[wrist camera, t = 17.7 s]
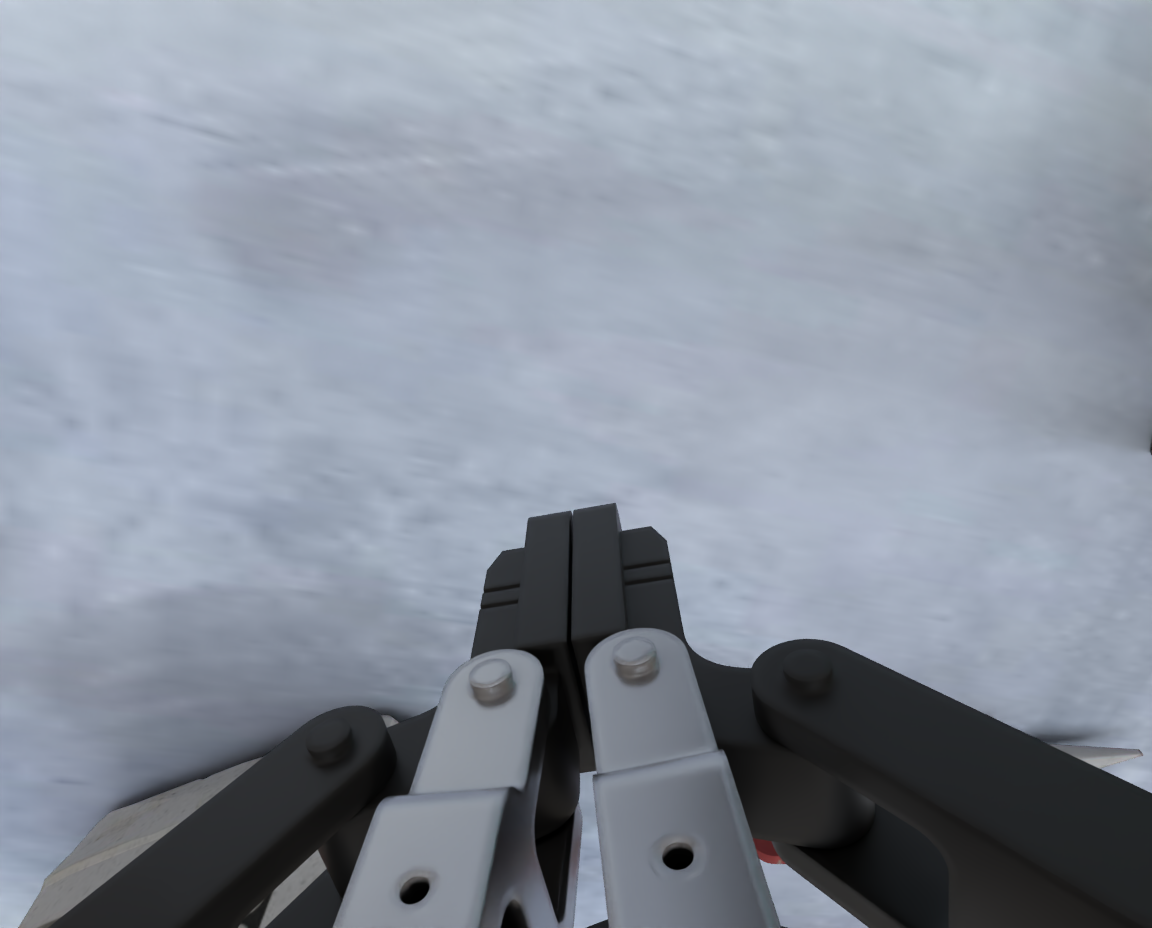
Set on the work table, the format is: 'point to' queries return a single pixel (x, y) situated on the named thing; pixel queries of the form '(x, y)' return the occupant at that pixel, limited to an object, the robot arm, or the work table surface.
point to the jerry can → (135, 833)
